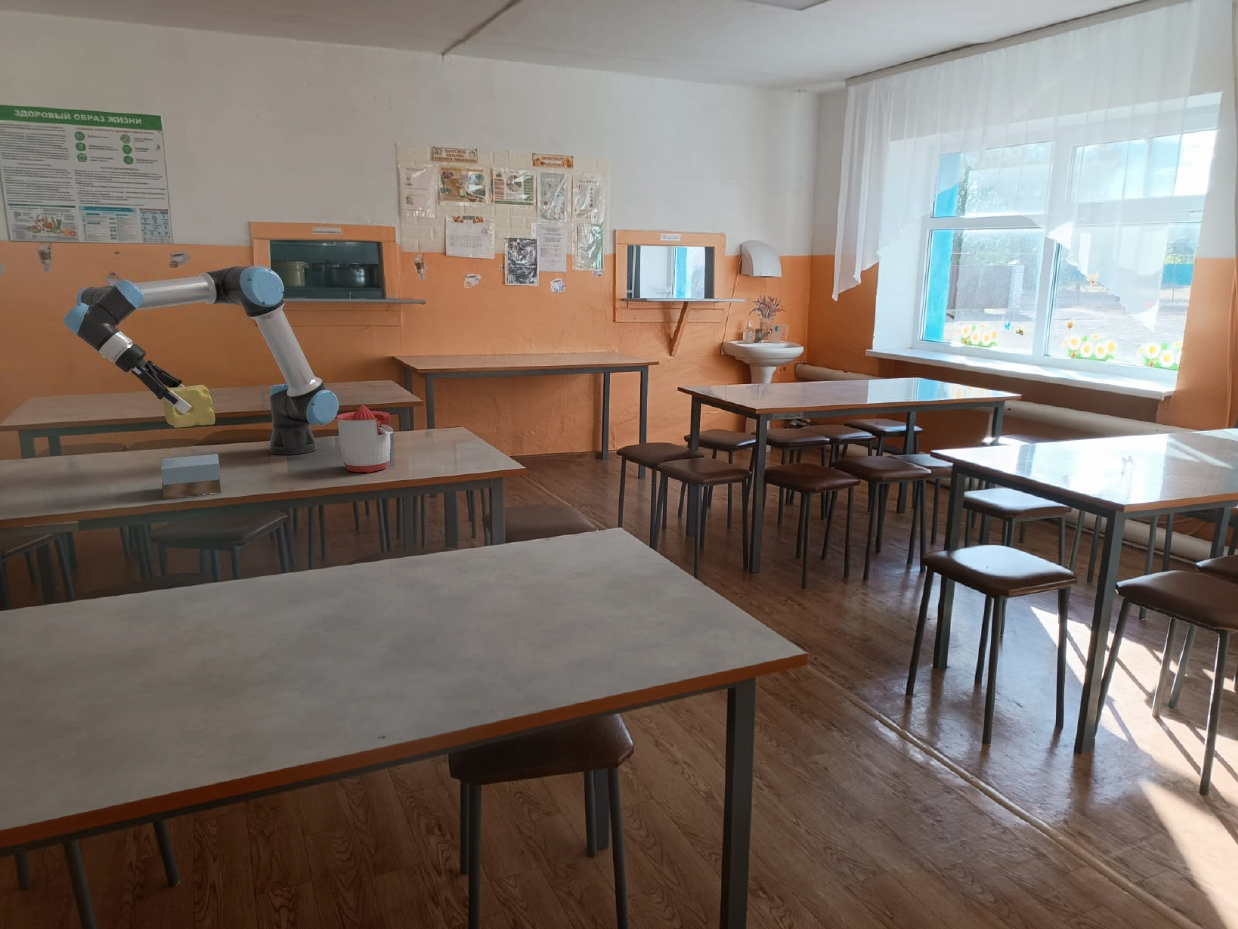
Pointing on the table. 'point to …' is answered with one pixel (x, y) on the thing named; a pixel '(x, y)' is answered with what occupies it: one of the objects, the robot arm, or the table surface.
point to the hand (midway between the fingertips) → (192, 406)
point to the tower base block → (190, 489)
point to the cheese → (197, 413)
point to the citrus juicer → (364, 439)
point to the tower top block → (190, 469)
